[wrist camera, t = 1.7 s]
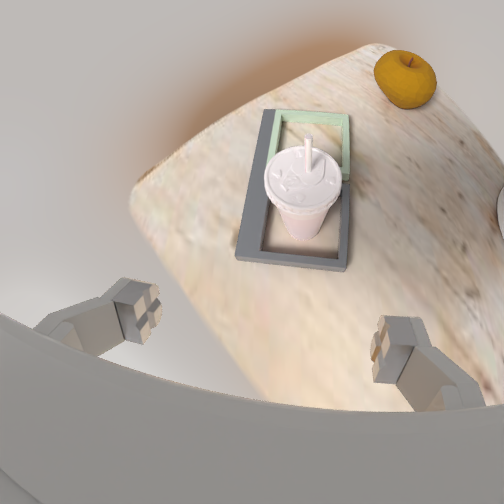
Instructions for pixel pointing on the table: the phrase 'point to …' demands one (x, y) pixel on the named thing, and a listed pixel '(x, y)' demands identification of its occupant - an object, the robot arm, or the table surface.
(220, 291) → the table surface
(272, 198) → the smoothie
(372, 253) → the table surface
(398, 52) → the apple
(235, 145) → the table surface
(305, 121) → the rail
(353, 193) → the table surface
